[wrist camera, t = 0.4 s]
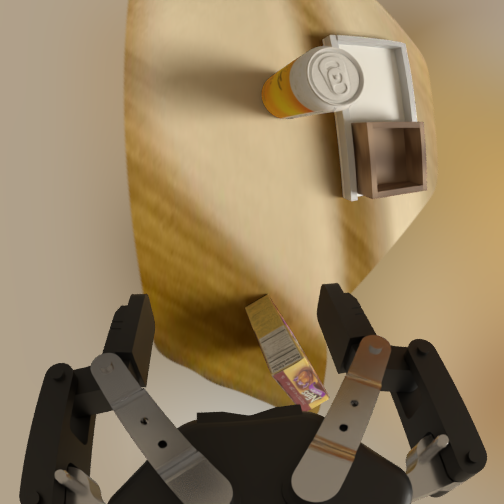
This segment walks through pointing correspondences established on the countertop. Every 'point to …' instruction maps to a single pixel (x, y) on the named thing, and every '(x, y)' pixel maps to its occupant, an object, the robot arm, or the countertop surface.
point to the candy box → (285, 355)
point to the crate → (389, 158)
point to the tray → (373, 95)
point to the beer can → (314, 84)
